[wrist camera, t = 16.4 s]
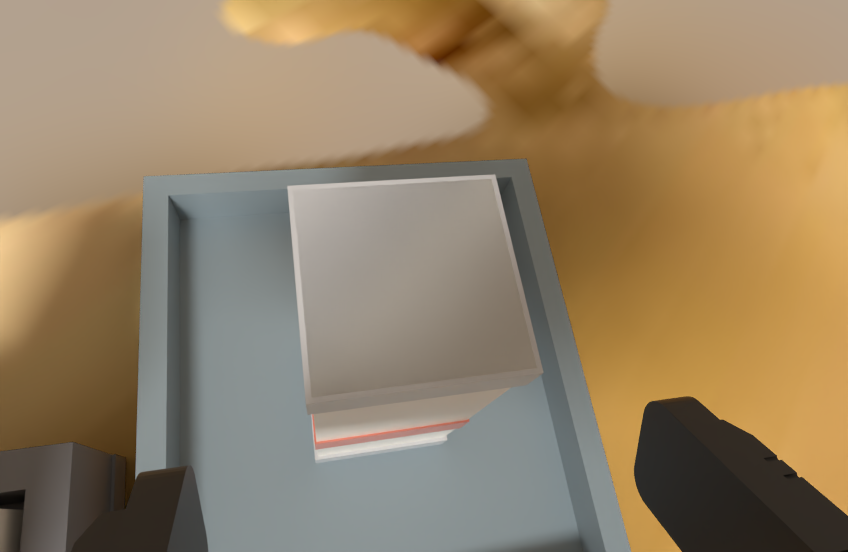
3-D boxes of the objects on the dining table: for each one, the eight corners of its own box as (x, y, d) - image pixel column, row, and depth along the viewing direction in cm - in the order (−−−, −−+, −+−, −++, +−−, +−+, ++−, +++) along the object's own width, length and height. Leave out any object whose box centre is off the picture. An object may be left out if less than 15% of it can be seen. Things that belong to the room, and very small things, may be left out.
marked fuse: (421, 326, 21) (495, 174, 12) (441, 444, 19) (543, 372, 10) (304, 339, 20) (287, 185, 11) (315, 463, 18) (305, 404, 9)
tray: (508, 192, 25) (526, 158, 23) (610, 610, 19) (649, 622, 17) (162, 212, 22) (143, 176, 20) (156, 713, 16) (127, 743, 14)
